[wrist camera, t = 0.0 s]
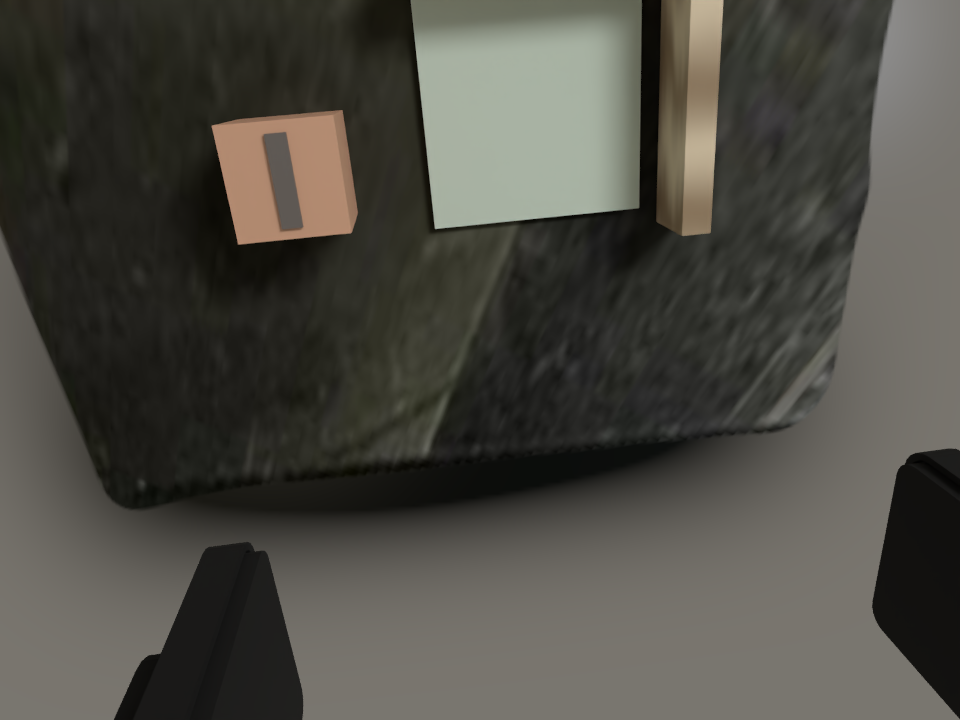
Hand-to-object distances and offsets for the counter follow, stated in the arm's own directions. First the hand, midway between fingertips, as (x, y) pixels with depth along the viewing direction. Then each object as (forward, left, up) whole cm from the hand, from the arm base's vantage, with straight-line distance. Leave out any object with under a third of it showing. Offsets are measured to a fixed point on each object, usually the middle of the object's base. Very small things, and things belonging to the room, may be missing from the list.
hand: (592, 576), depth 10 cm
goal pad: (-5, +5, -31) cm, 32 cm away
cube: (-3, -8, -31) cm, 32 cm away
